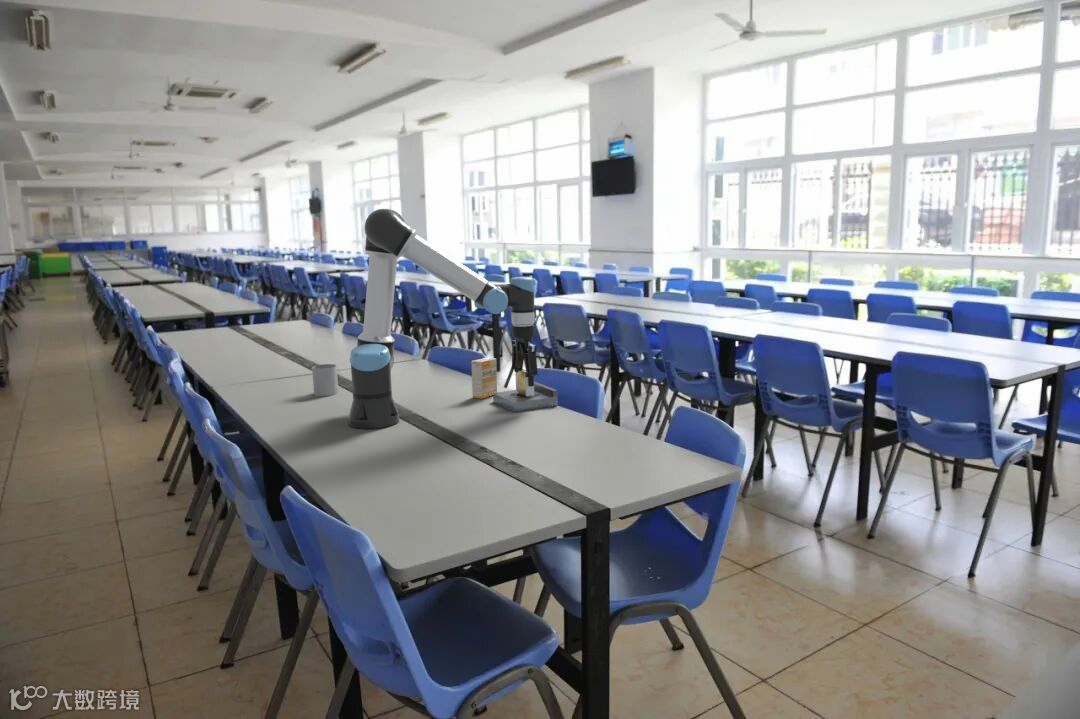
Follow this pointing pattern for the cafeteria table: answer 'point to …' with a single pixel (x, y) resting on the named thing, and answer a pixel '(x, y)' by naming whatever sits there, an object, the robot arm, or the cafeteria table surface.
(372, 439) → the cafeteria table surface
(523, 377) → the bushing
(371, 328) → the robot arm
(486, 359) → the supplement box
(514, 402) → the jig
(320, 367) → the cup
